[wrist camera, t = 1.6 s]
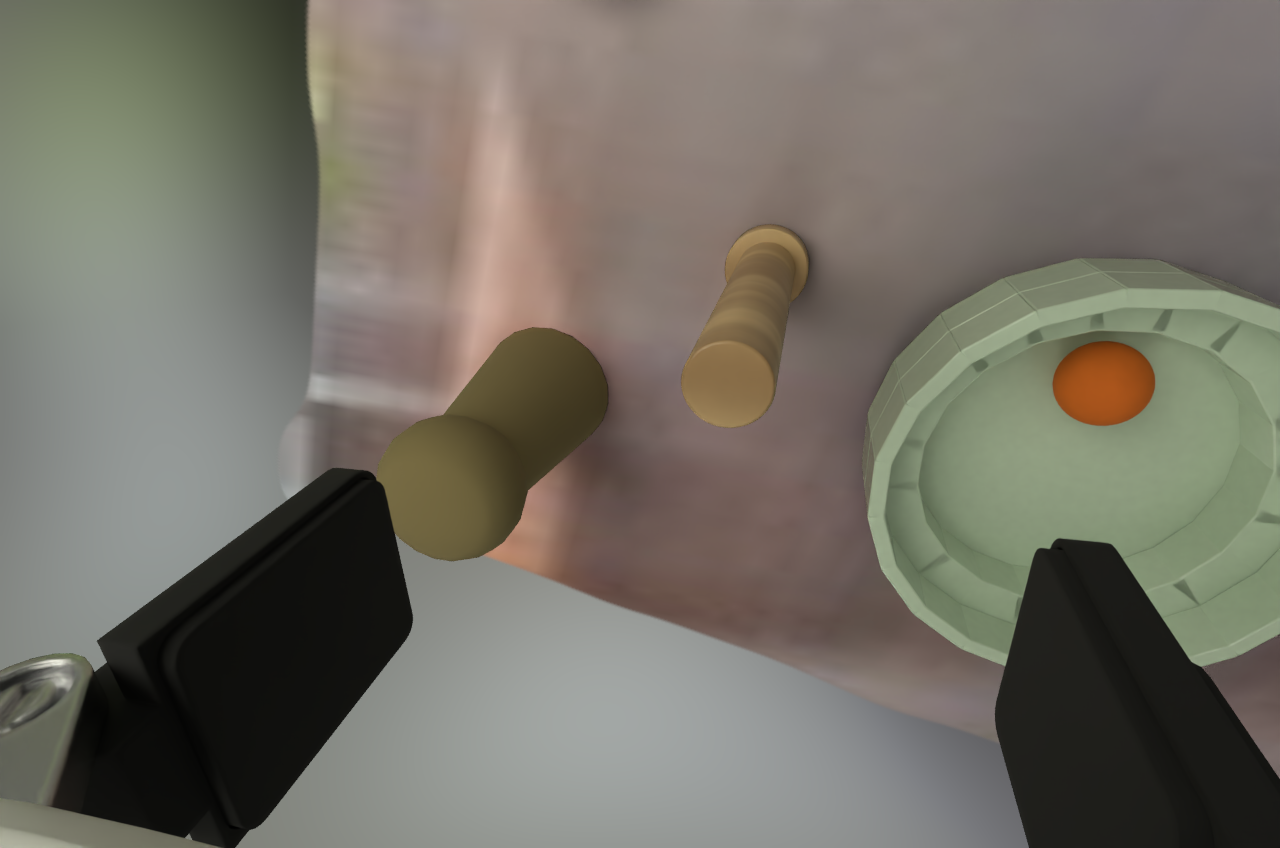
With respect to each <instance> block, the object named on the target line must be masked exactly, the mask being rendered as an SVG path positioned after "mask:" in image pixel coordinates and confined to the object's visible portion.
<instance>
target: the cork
mask: <svg viewBox="0 0 1280 848" xmlns="http://www.w3.org/2000/svg"><path fill="white" fill-rule="evenodd" d="M607 405H608V392H607V383H606V380H605V377H604V374H603V372H602V369H601V366H600V365H599V363H598V362H597V361H596V359H595V358H594V357H593V355H592V354H591V352H590V351H589V350H588V349H587V348H586V347H585V346H583V345H582V344H581V343H579V342H578V341H577V340H576V339H574V338H573V337H572V336H569V335H567V334H564V333H562V332H559V331H557V330H554V329H548V328H533V327H532V328H529V329H525V330H521V331H518V332H514V333H513V334H512V335H510V336H509V337H508V338H506V339H505V340H503V341H502V342H501V343H500V344H499V345H498V346H497V348H496V349H495V350H494V351H493V353H492V354H491V355H490V357H489V358H488V359H487V360H486V362H485V363H484V364H483V365H482V367H481V368H480V369H479V370H478V372H477V373H476V374H475V375H474V377H473V378H472V379H471V380H470V382H469V383H468V384H467V386H466V387H465V388H464V389H463V391H462V392H461V393H460V394H459V396H458V397H457V398H456V399H455V401H454V402H453V403H452V404H451V406H450V407H449V408H448V409H447V411H446V412H445V413H444V415H441V416H436V417H432V418H428V419H425V420H422V421H418V422H416V423H415V424H414V425H412V426H411V427H409V428H408V429H407V430H405V431H404V432H402V433H401V434H400V435H398V436H397V437H396V438H395V439H393V441H392V442H391V444H390V445H389V447H388V449H387V450H386V452H385V454H384V455H383V457H382V459H381V461H380V462H379V464H378V470H377V478H376V480H377V481H379V482H381V483H382V485H383V486H384V489H385V492H386V497H387V501H388V506H389V510H390V515H391V519H392V524H393V528H394V533H395V534H396V535H397V536H398V537H399V538H400V539H401V540H402V541H403V542H405V543H406V544H408V545H409V546H410V547H412V548H413V549H414V550H416V551H418V552H420V553H422V554H425V555H427V556H429V557H432V558H434V559H440V560H447V561H457V560H464V559H471V558H477V557H480V556H482V555H484V554H485V553H487V552H489V551H491V550H493V549H494V548H496V547H497V546H499V545H500V544H502V543H503V542H504V541H505V539H506V538H507V537H508V536H509V534H510V533H511V532H512V531H513V529H514V528H515V526H516V525H517V524H518V522H519V521H520V519H521V515H522V511H523V508H524V504H525V500H526V496H527V493H528V490H529V489H530V488H531V487H532V486H533V485H535V484H536V483H537V482H538V481H539V480H540V479H541V478H543V477H544V476H545V475H546V474H547V473H548V472H549V471H550V470H552V469H553V468H554V467H555V466H556V465H557V464H558V463H560V462H561V461H562V460H563V459H564V458H565V457H566V456H567V455H569V454H570V453H571V452H572V451H573V450H574V449H575V448H577V447H578V446H579V445H580V444H581V443H582V442H583V441H584V440H586V439H587V438H588V437H589V436H590V435H591V434H592V433H593V432H594V431H595V429H596V428H597V427H598V426H599V424H600V423H601V422H602V421H603V418H604V414H605V411H606V408H607Z"/></svg>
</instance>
